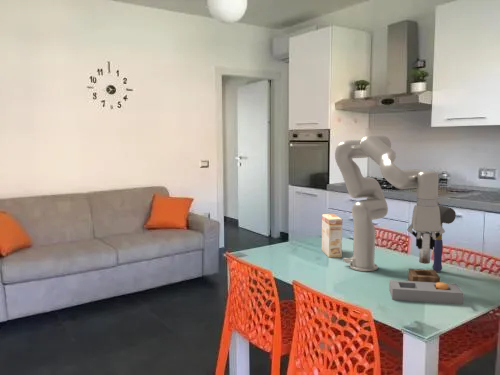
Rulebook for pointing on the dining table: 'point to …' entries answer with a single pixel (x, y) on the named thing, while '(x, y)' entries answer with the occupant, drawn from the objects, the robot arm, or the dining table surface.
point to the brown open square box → (423, 275)
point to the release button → (441, 286)
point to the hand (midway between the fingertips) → (425, 248)
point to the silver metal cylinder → (425, 247)
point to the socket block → (424, 292)
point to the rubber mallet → (445, 217)
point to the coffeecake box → (332, 235)
